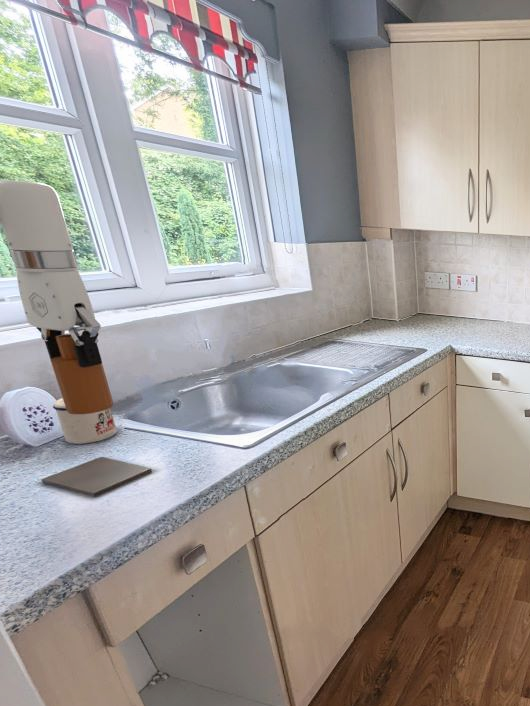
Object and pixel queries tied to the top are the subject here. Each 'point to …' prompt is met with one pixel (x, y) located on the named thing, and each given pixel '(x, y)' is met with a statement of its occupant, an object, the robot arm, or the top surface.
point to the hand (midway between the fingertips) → (76, 362)
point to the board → (96, 476)
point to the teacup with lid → (85, 424)
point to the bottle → (80, 381)
